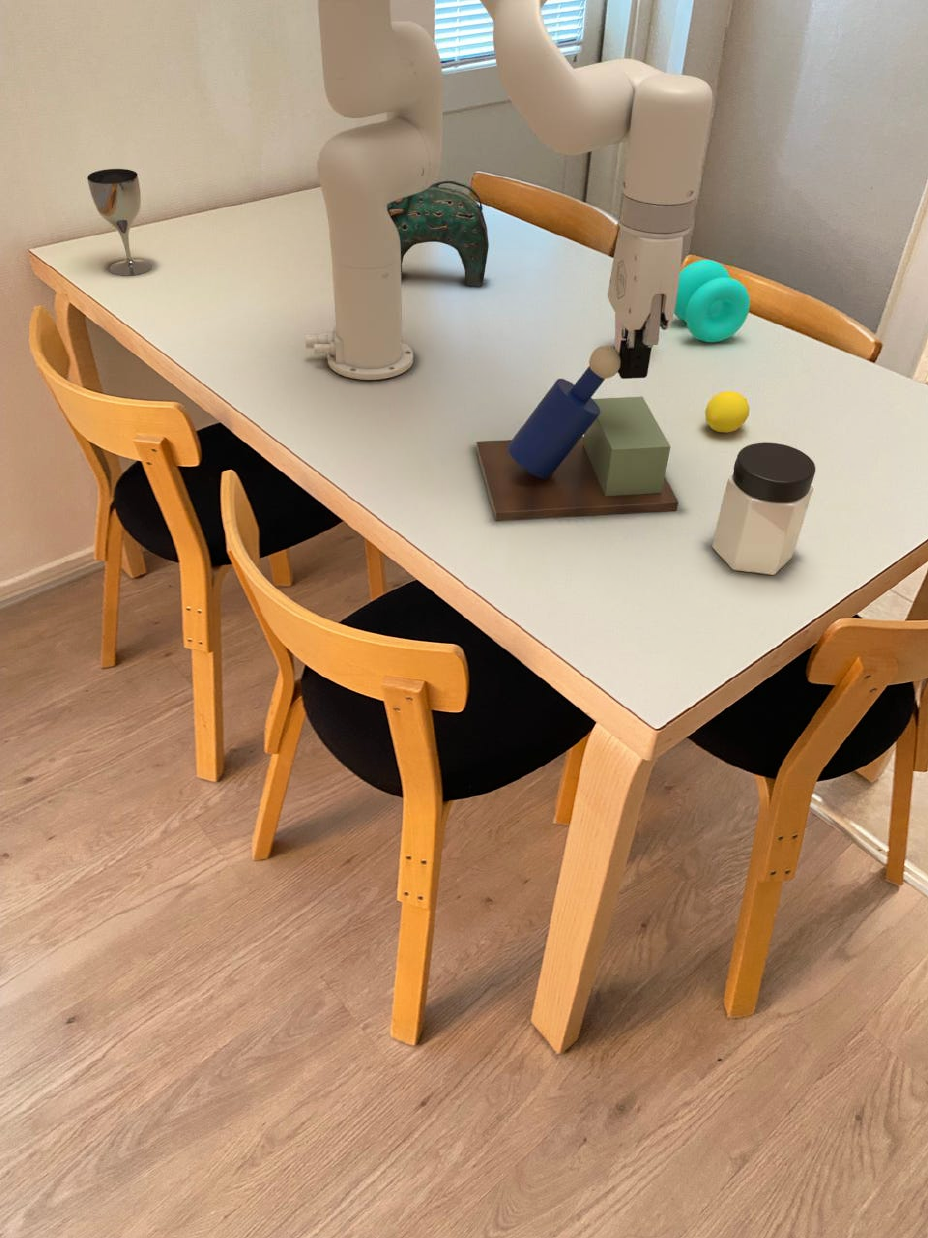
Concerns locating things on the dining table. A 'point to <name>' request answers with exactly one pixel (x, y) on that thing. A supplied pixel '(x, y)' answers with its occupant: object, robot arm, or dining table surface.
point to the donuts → (711, 301)
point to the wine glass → (119, 210)
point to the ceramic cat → (445, 225)
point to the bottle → (562, 417)
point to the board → (557, 488)
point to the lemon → (727, 411)
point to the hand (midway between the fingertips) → (631, 374)
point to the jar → (764, 507)
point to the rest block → (627, 447)
